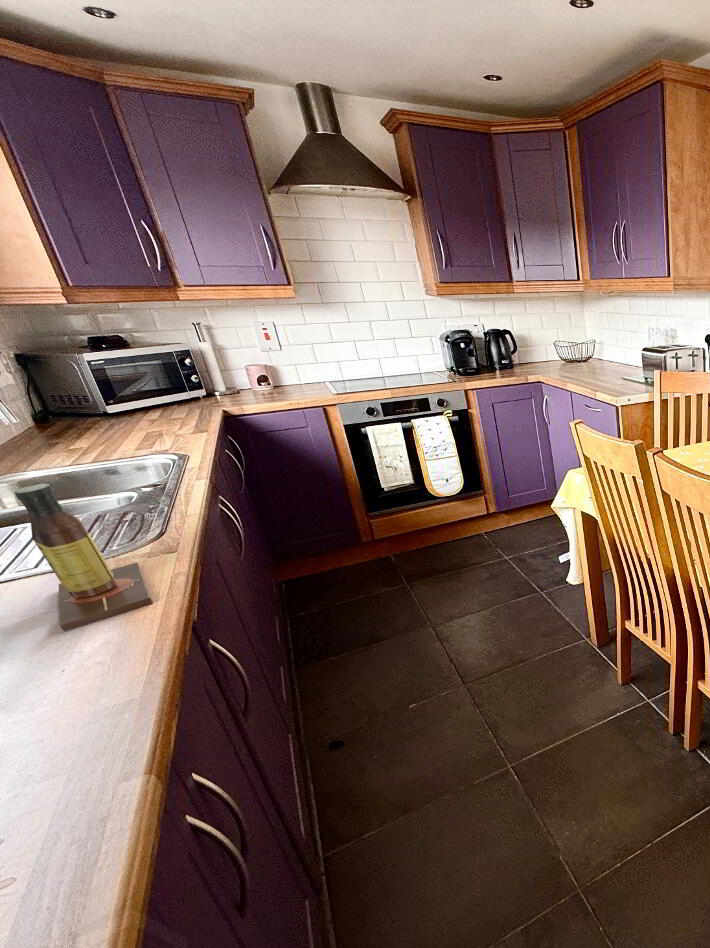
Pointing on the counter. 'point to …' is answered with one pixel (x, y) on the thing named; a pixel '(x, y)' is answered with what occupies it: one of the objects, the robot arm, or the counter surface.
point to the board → (105, 599)
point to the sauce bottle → (65, 544)
